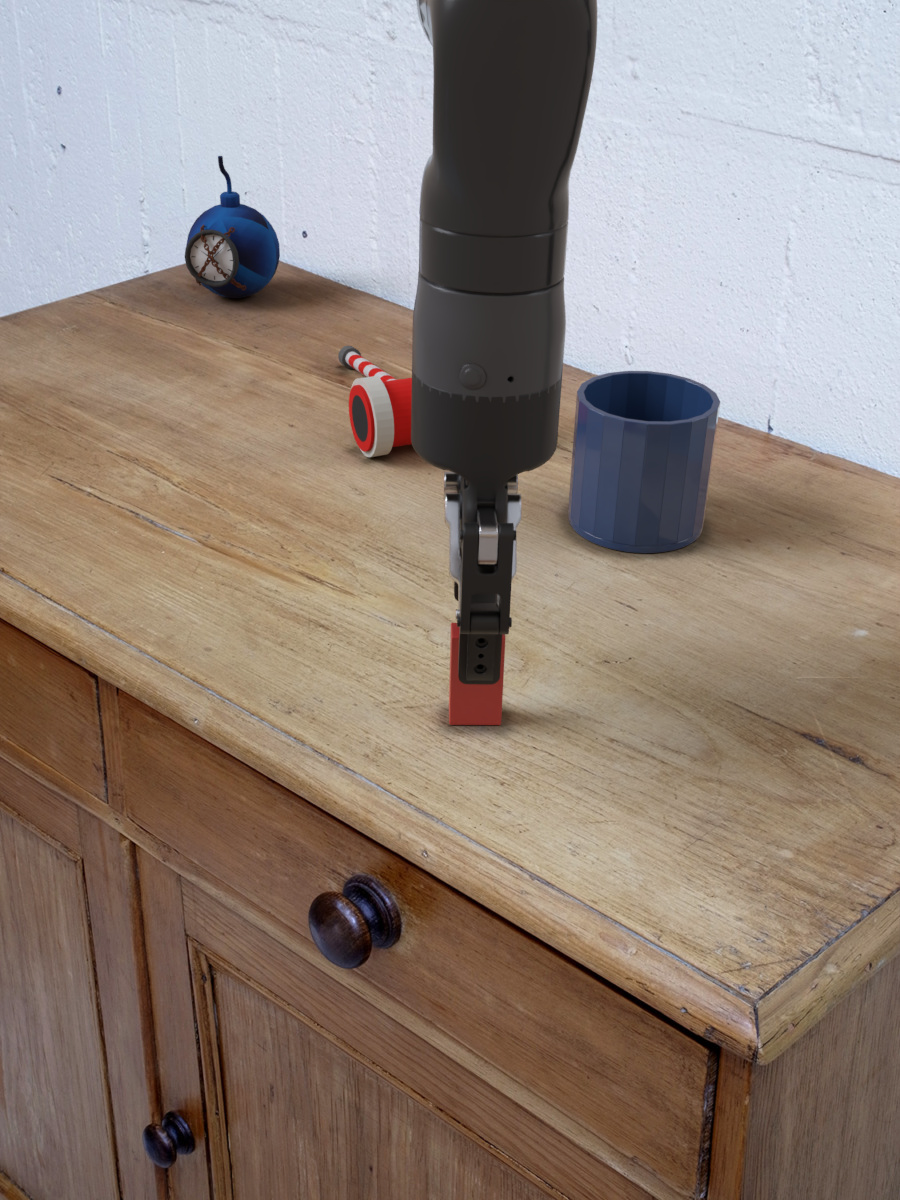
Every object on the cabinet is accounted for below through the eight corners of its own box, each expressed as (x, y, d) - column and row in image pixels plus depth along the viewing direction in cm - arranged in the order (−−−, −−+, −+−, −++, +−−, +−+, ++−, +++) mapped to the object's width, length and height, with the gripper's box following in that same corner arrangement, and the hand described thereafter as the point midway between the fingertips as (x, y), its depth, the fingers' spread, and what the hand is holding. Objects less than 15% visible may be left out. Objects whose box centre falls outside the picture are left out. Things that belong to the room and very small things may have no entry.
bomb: (170, 307, 138) (157, 161, 131) (213, 278, 147) (203, 139, 140) (257, 317, 136) (248, 169, 129) (294, 287, 145) (289, 146, 138)
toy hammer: (287, 373, 123) (284, 307, 120) (404, 358, 127) (404, 293, 124) (374, 470, 105) (373, 395, 102) (506, 449, 109) (510, 376, 106)
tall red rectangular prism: (499, 709, 77) (506, 576, 72) (501, 725, 76) (508, 590, 71) (448, 709, 77) (451, 576, 72) (449, 725, 76) (452, 590, 71)
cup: (689, 492, 103) (704, 371, 98) (714, 554, 94) (732, 424, 89) (562, 491, 102) (570, 369, 97) (575, 553, 94) (586, 423, 89)
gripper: (577, 420, 59) (553, 713, 68) (549, 317, 72) (532, 576, 80) (411, 417, 59) (407, 711, 67) (412, 314, 71) (408, 574, 80)
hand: (475, 637), depth 74 cm, fingers open, 8 cm apart
